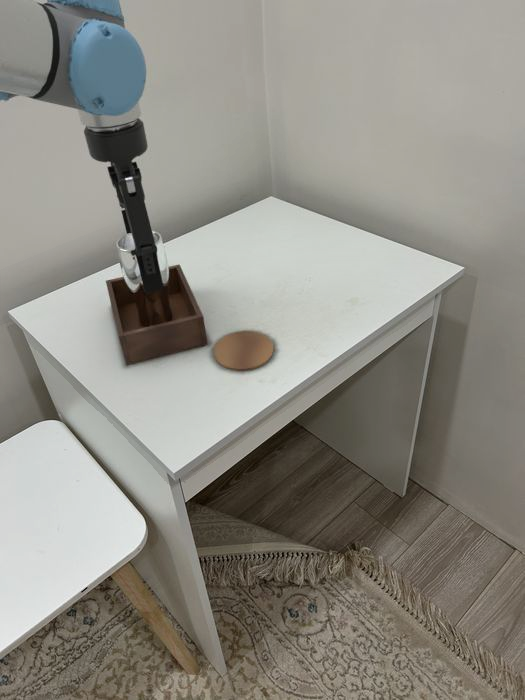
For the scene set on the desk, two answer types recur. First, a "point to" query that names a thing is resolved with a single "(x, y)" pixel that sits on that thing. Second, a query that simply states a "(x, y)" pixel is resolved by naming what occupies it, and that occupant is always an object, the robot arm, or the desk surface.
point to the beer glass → (149, 305)
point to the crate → (161, 336)
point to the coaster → (243, 350)
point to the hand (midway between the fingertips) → (146, 267)
